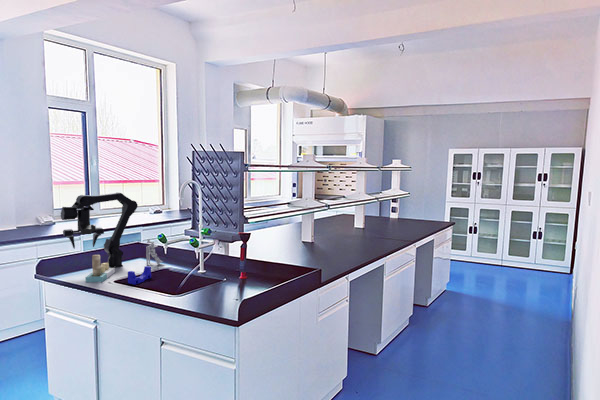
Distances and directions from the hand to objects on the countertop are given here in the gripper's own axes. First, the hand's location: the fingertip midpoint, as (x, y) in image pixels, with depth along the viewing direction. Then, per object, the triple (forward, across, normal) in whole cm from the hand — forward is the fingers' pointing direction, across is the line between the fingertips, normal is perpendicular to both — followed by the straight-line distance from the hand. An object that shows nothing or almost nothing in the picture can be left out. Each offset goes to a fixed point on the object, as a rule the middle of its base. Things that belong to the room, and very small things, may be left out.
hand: (83, 247), depth 212 cm
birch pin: (+13, +2, -20) cm, 24 cm away
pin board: (+13, +5, -16) cm, 21 cm away
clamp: (+12, +35, -8) cm, 38 cm away
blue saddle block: (+13, +20, -34) cm, 41 cm away
